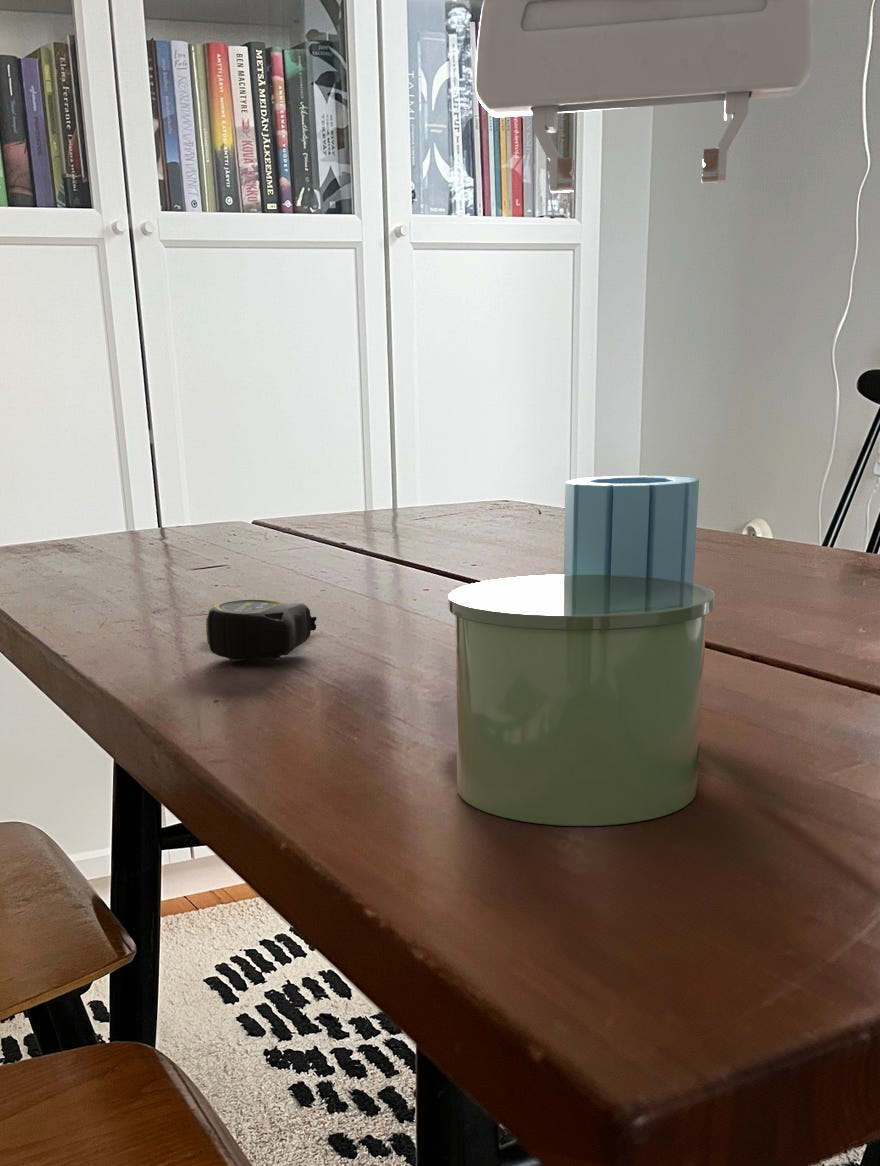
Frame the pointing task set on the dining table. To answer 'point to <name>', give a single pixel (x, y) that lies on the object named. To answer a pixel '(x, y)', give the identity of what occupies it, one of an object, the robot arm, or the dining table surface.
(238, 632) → the tape measure
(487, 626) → the pot
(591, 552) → the blue grooved hollow cylinder
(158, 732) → the dining table surface
